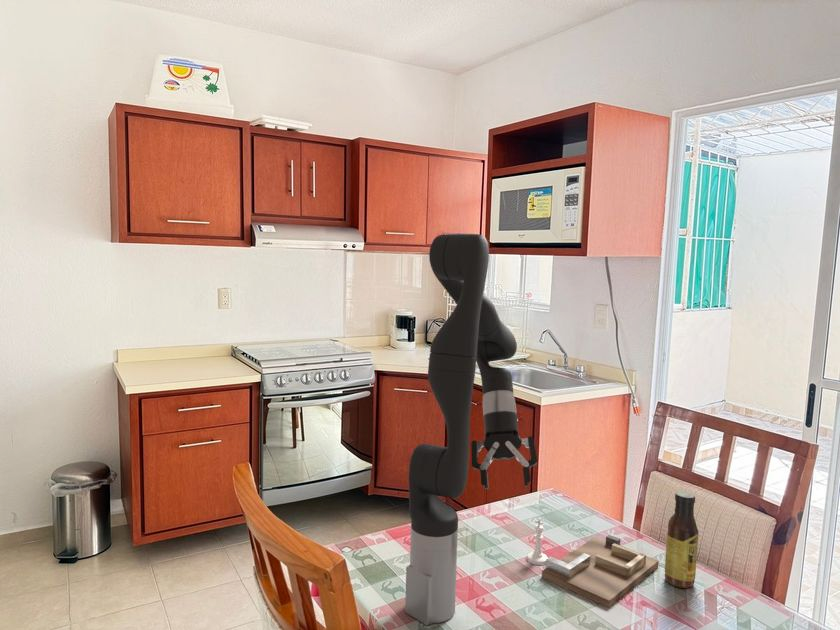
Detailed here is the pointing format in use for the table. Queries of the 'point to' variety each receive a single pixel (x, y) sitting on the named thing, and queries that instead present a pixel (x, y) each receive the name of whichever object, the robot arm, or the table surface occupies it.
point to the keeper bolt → (568, 565)
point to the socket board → (605, 570)
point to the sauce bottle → (682, 543)
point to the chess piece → (537, 547)
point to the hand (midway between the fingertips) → (506, 487)
